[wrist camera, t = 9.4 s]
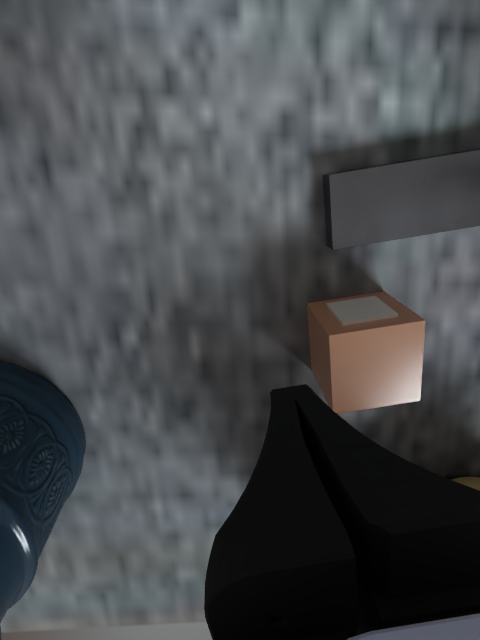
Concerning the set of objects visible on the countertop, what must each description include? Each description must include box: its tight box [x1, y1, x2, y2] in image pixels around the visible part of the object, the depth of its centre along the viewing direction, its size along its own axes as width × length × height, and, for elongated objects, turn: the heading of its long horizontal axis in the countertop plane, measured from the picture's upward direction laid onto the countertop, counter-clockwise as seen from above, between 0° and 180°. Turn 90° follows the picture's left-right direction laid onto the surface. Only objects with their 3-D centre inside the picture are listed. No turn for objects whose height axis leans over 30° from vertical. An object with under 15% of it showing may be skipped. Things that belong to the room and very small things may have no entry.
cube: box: [307, 291, 426, 414], centre depth 21 cm, size 5×5×5 cm
